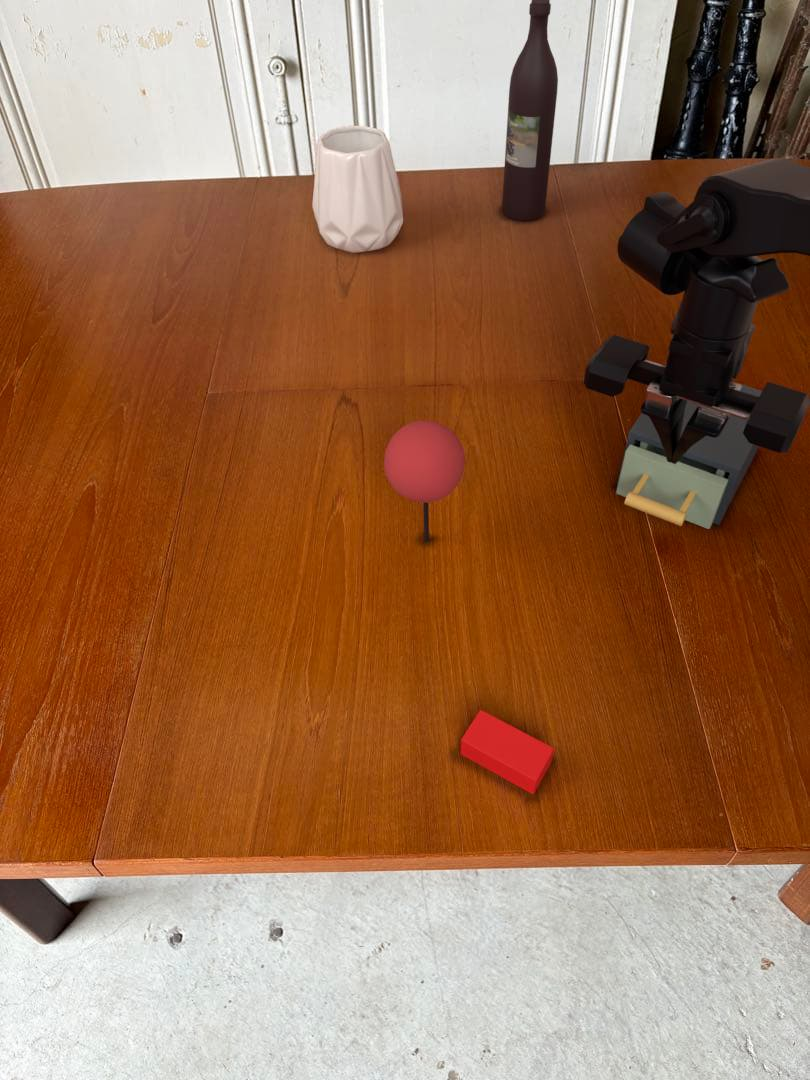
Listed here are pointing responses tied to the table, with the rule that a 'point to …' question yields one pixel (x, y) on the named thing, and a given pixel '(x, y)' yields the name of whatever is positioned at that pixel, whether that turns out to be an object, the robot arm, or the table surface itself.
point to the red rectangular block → (506, 751)
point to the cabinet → (708, 448)
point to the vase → (356, 189)
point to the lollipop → (424, 463)
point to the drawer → (671, 486)
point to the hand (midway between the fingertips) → (673, 460)
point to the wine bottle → (530, 121)
